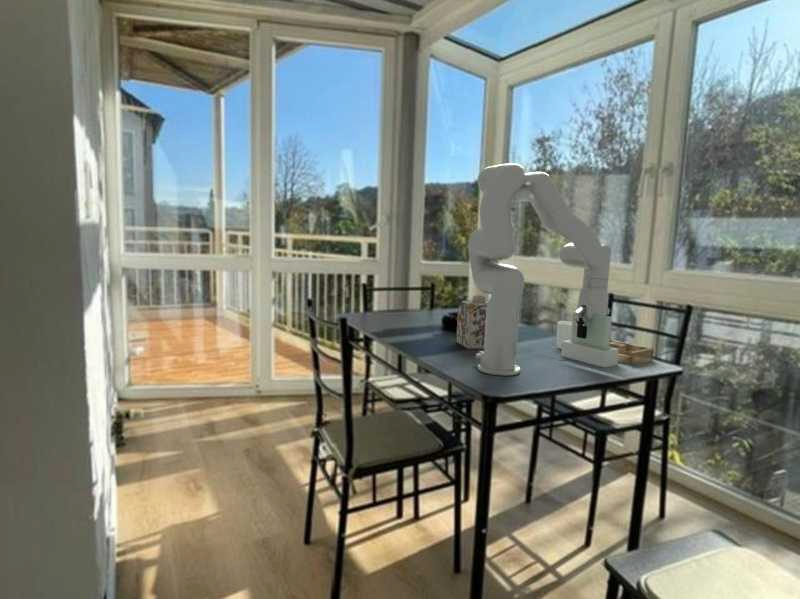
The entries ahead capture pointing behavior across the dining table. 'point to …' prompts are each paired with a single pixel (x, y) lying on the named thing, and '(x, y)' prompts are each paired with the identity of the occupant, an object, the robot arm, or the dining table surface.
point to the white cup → (563, 332)
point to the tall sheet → (594, 332)
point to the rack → (635, 354)
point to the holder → (590, 354)
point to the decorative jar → (472, 322)
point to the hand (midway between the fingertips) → (590, 336)
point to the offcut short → (618, 346)
